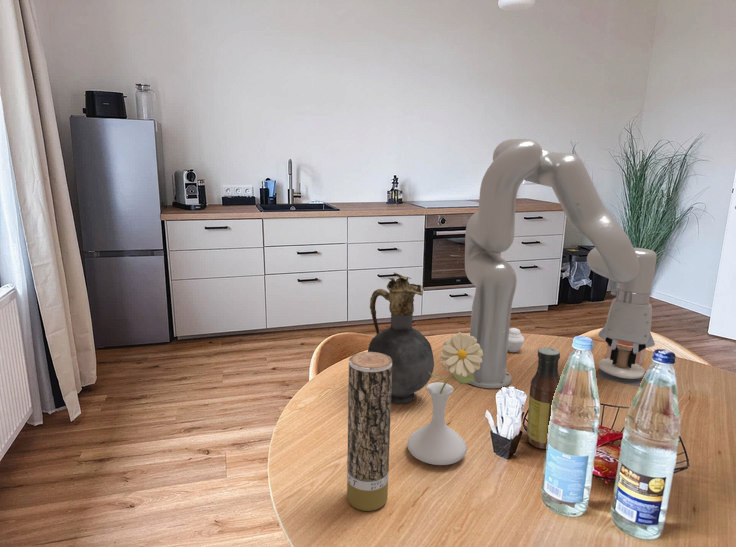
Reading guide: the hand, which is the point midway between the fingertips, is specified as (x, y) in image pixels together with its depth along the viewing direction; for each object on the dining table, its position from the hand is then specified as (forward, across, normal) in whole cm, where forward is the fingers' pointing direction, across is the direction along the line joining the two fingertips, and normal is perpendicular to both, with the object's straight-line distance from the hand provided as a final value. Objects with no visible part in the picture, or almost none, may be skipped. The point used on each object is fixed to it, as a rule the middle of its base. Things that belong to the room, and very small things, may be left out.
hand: (621, 363), depth 138 cm
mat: (+4, 0, 0) cm, 4 cm away
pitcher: (+5, -47, -39) cm, 62 cm away
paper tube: (+5, -35, -76) cm, 84 cm away
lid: (+2, 0, 0) cm, 2 cm away
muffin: (+4, -29, +4) cm, 29 cm away
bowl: (+3, +1, +12) cm, 12 cm away
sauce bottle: (+4, -12, -44) cm, 46 cm away
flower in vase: (+5, -29, -58) cm, 65 cm away
